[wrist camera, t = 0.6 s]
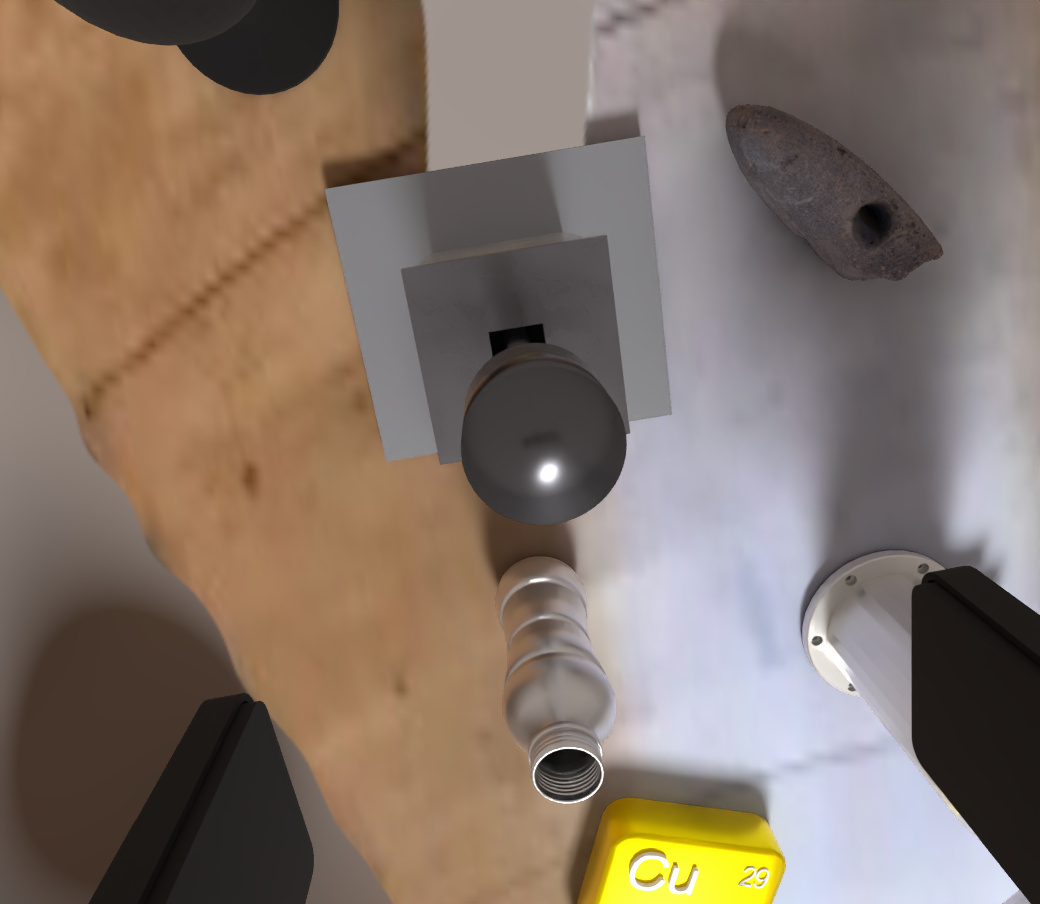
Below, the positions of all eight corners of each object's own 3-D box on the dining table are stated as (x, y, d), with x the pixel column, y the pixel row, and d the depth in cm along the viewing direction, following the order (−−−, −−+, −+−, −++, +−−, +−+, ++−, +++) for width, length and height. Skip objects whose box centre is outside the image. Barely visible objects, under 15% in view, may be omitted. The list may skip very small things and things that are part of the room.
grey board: (640, 137, 47) (644, 135, 46) (667, 410, 52) (671, 414, 51) (328, 189, 47) (324, 189, 46) (388, 456, 53) (386, 461, 51)
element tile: (568, 923, 67) (575, 975, 63) (607, 791, 63) (617, 836, 58) (725, 941, 69) (743, 992, 64) (774, 812, 65) (796, 858, 60)
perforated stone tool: (689, 147, 47) (723, 136, 41) (748, 77, 46) (792, 55, 40) (846, 300, 51) (900, 312, 44) (903, 238, 50) (968, 242, 43)
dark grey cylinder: (550, 283, 38) (616, 353, 19) (562, 368, 39) (634, 510, 20) (464, 297, 38) (446, 381, 19) (479, 381, 39) (476, 537, 20)
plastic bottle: (508, 536, 55) (521, 707, 36) (594, 558, 56) (652, 737, 37) (484, 610, 57) (484, 811, 38) (568, 631, 58) (610, 838, 39)
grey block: (565, 227, 47) (606, 235, 31) (588, 404, 51) (636, 491, 35) (428, 250, 47) (400, 269, 31) (461, 425, 51) (451, 522, 35)
